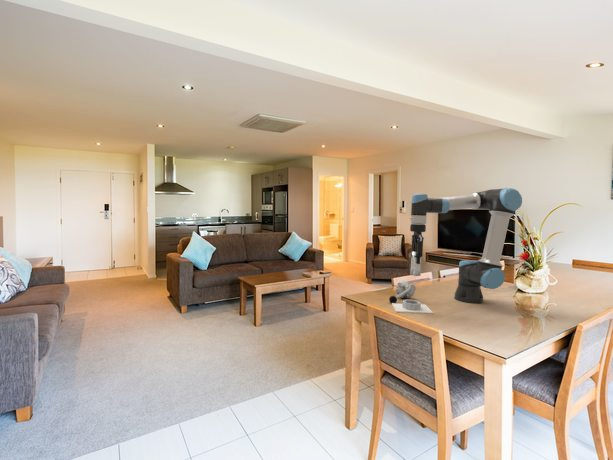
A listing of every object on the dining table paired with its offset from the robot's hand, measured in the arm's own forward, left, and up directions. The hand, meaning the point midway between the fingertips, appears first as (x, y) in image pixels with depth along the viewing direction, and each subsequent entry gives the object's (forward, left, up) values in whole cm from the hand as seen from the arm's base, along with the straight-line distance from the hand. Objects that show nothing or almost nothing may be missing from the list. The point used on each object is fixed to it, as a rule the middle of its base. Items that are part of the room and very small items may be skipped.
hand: (415, 268), depth 168 cm
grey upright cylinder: (0, 0, -3) cm, 3 cm away
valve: (+4, -17, -22) cm, 28 cm away
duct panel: (+1, -1, -21) cm, 21 cm away
